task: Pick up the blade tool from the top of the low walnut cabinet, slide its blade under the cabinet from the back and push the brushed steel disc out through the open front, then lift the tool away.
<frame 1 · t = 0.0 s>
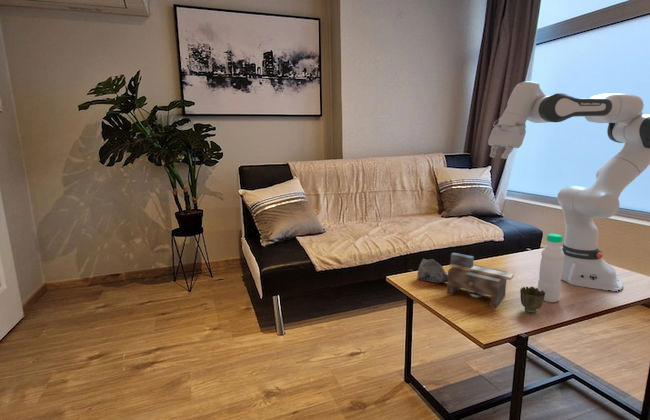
hand: (497, 157, 137), 52 cm above the table, tool tilted 20°, fingers open, 8 cm apart
cup: (530, 312, 121), on the table
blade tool: (461, 267, 136), point 10 cm above the table, touching walnut cabinet
water bottle: (547, 299, 130), on the table
steel disc: (475, 295, 134), on the table
mineral rock: (433, 282, 147), on the table
walnut cabinet: (475, 294, 134), on the table
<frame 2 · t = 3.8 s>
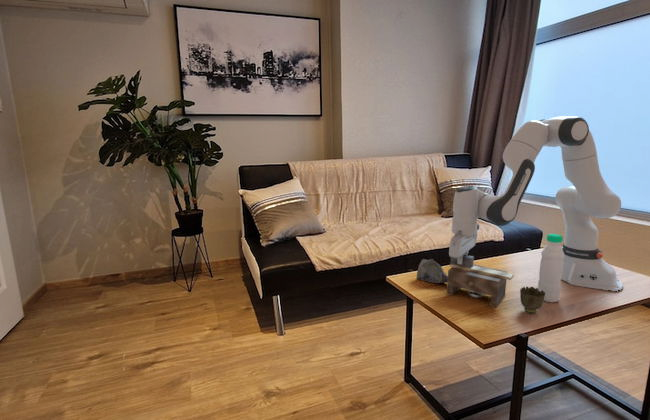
hand: (461, 262, 136), 12 cm above the table, tool pointing down, fingers closed on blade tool, 2 cm apart
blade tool: (461, 267, 136), point 10 cm above the table, touching gripper, walnut cabinet
everything else where it was.
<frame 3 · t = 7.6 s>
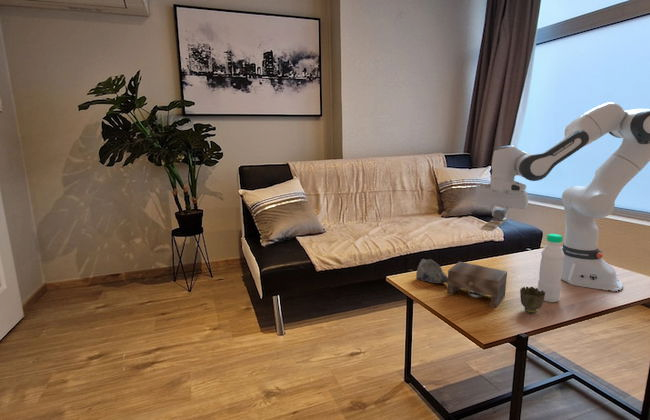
hand: (499, 216, 148), 26 cm above the table, tool pointing down, fingers closed on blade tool, 2 cm apart
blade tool: (498, 221, 148), point 24 cm above the table, touching gripper
everything else where it was.
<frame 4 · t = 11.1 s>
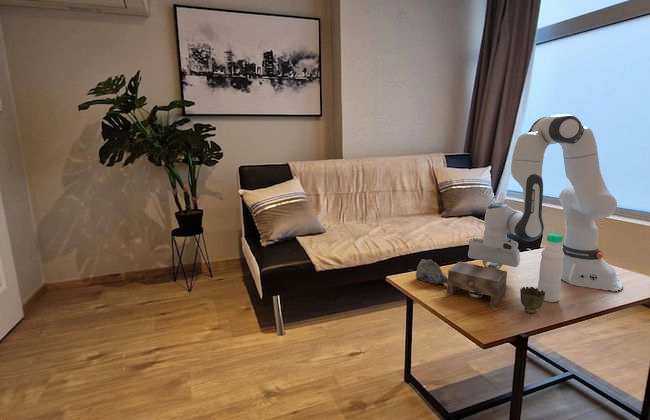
hand: (491, 271, 150), 3 cm above the table, tool pointing down, fingers closed on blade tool, 2 cm apart
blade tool: (491, 276, 150), point 1 cm above the table, touching gripper
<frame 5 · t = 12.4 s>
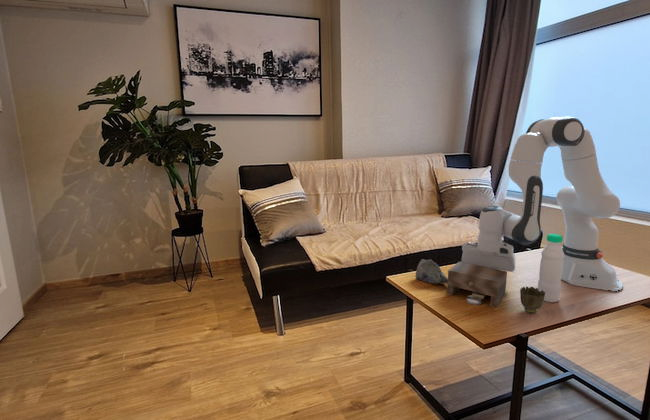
hand: (486, 276, 144), 3 cm above the table, tool pointing down, fingers closed on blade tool, 2 cm apart
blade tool: (486, 281, 145), on the table, touching gripper
steel disc: (473, 302, 129), on the table
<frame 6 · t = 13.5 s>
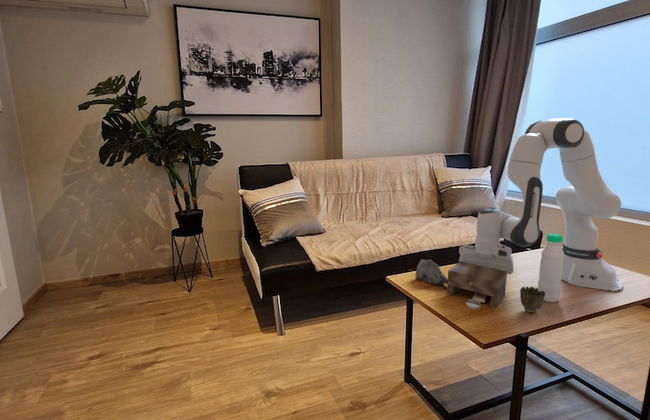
hand: (484, 279, 142), 3 cm above the table, tool pointing down, fingers closed on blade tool, 2 cm apart
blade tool: (484, 284, 142), on the table, touching gripper
steel disc: (473, 306, 126), on the table
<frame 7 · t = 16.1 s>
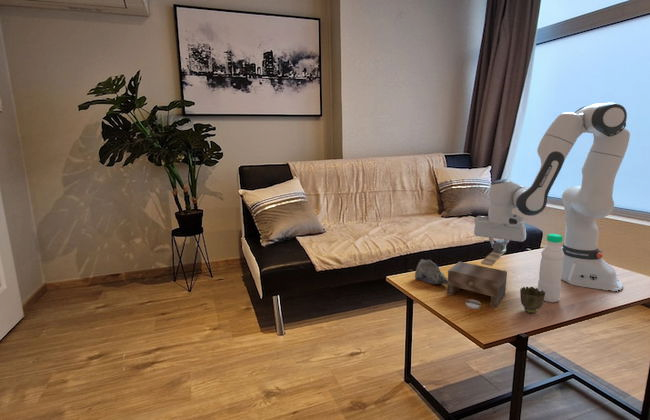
hand: (498, 248, 150), 12 cm above the table, tool pointing down, fingers closed on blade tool, 2 cm apart
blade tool: (498, 252, 151), point 10 cm above the table, touching gripper
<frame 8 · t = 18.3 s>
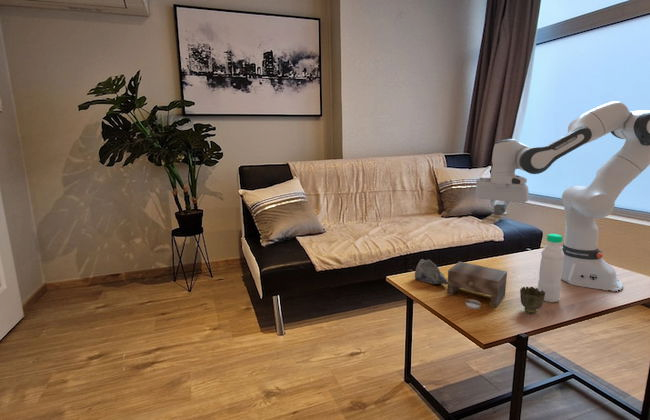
hand: (499, 210, 147), 29 cm above the table, tool pointing down, fingers closed on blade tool, 2 cm apart
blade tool: (499, 215, 148), point 27 cm above the table, touching gripper
at the end: steel disc inside the target area (5.9 cm from its centre), on the table; steel disc tilted 0° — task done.
